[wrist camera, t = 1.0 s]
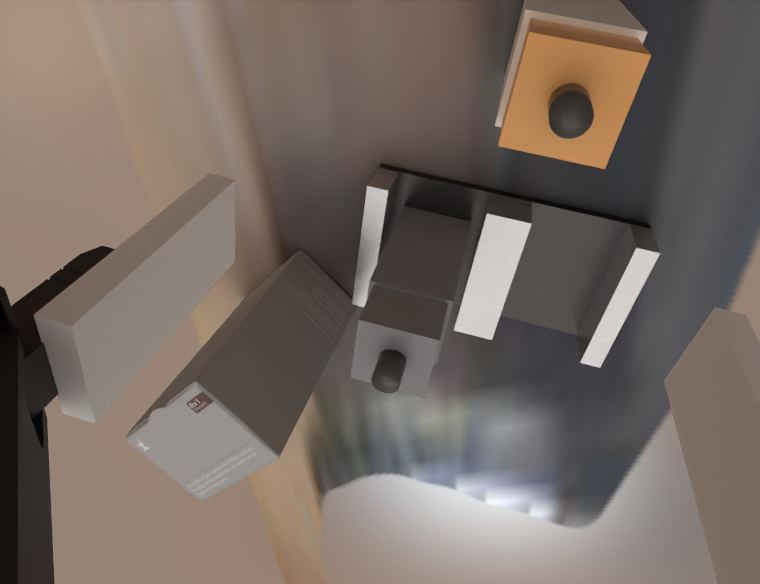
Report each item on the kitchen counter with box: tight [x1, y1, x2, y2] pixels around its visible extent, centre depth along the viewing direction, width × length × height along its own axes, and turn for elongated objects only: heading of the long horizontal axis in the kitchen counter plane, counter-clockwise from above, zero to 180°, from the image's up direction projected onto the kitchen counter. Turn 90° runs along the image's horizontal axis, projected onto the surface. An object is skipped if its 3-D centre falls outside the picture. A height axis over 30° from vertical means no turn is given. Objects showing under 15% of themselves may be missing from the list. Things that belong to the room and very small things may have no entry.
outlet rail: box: [352, 164, 660, 368], centre depth 35 cm, size 9×17×4 cm, turn 82°
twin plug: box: [350, 206, 471, 398], centre depth 31 cm, size 4×4×14 cm
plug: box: [495, 0, 651, 169], centre depth 23 cm, size 4×4×14 cm
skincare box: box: [125, 250, 357, 501], centre depth 37 cm, size 8×7×16 cm
